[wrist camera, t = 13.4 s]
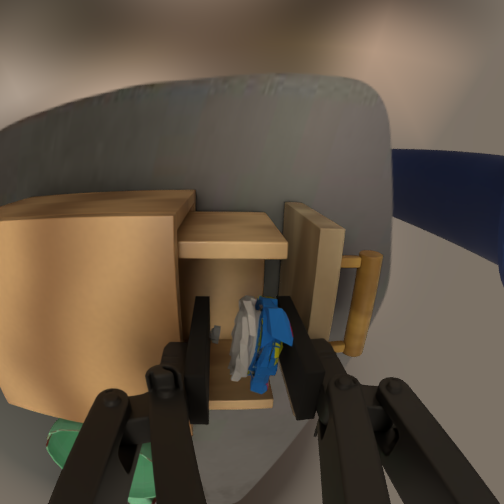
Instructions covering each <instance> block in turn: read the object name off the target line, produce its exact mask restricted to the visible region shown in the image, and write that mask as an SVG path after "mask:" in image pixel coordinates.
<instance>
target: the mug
mask: <svg viewBox="0 0 504 504" xmlns="http://www.w3.org/2000/svg"><path fill="white" fill-rule="evenodd" d="M82 425H83V423H80V422H75V421H70V420H66V419H62V418H59V419H58V420H57V421H56V422H55V423H54V425H53V426H52V428H51V430H50V432H49V434H48V436H47V439H48V440H47V444H46V449H47V451H48V452H49V454H50V455H51V457H52V459H53V460H54V461H55V462H56V463H57V464H58V465H59V466H60V467H61V468H62V469H63V467H64V464H65V462H66V460H67V457H68V455H69V453H70V451H71V449H72V446H73V444H74V442H75V440H76V438H77V435H78V433H79V431H80V429H81V427H82ZM128 501H129V502H130V503H131V504H155V502H156V494H155V486H154V476H153V466H152V454H151V442H150V443H143V444H142V447H141V451H140V454H139V458H138V462H137V466H136V469H135V473H134V477H133V481H132V485H131V489H130V493H129V497H128Z"/></svg>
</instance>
